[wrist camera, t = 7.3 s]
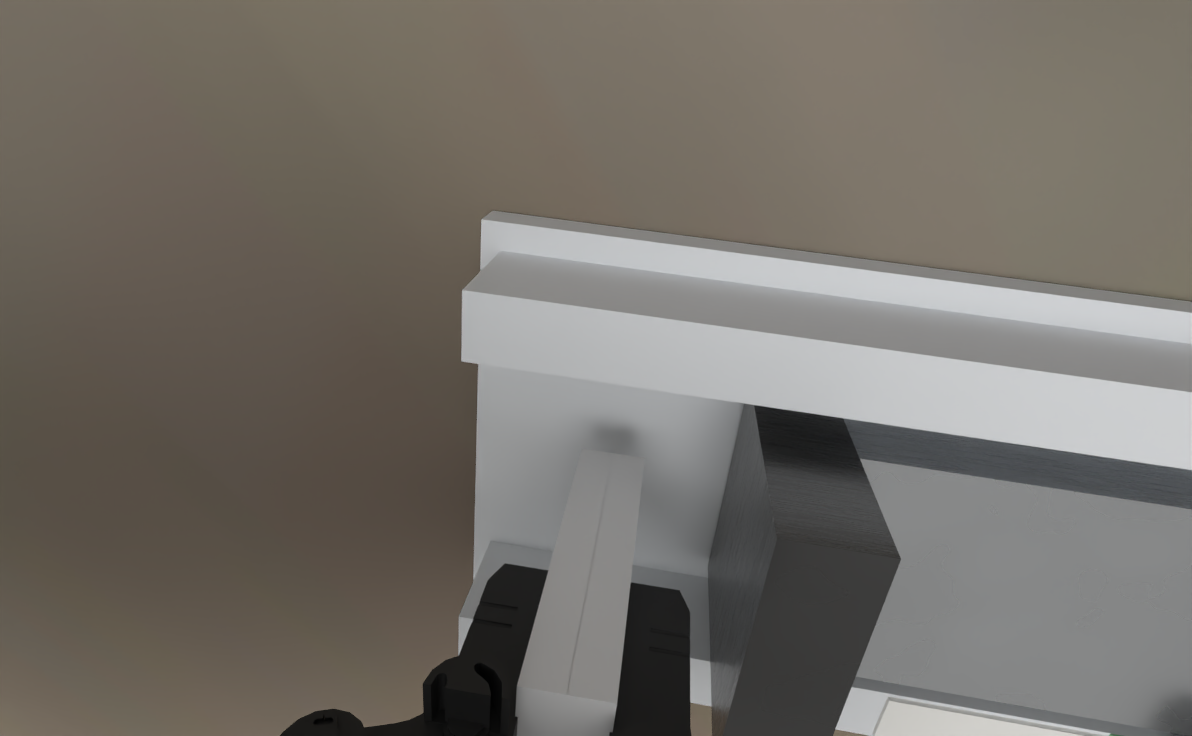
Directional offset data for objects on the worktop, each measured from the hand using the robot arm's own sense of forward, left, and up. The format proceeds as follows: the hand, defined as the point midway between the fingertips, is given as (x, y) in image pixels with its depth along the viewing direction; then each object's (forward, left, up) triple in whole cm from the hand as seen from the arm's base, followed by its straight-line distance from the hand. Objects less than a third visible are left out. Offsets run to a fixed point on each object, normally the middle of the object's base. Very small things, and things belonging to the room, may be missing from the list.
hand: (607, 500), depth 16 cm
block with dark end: (+10, -2, -2) cm, 10 cm away
